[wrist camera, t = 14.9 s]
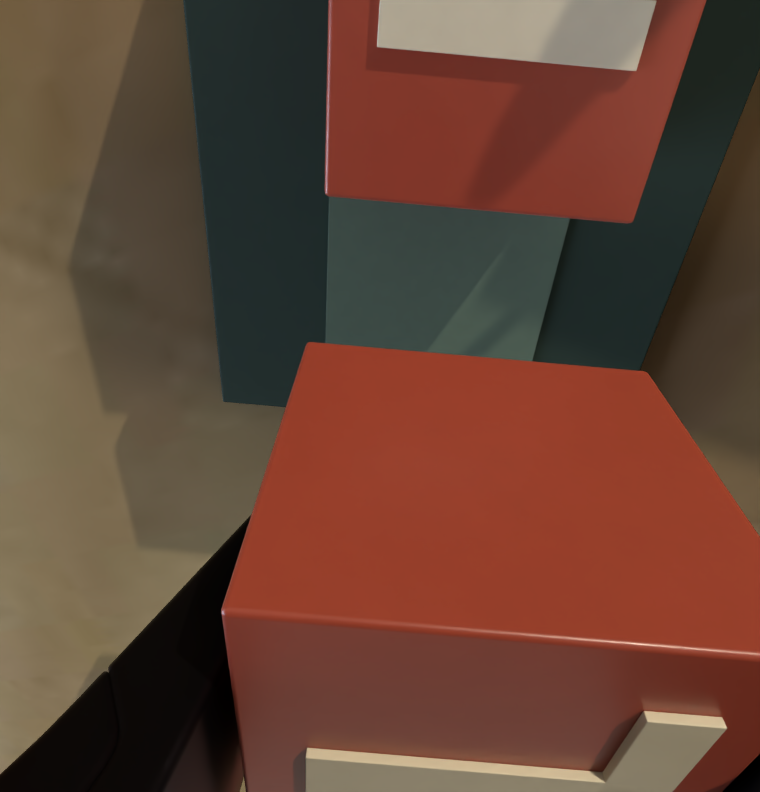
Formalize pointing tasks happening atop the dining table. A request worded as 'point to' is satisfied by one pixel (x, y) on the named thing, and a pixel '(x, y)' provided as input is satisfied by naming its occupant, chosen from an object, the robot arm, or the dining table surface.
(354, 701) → the letter T
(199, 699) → the robot arm
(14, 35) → the dining table surface
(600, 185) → the red box-shaped block
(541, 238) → the word mat
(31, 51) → the dining table surface
